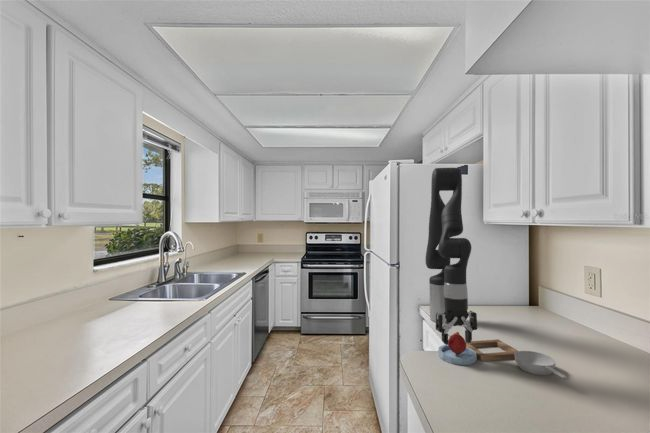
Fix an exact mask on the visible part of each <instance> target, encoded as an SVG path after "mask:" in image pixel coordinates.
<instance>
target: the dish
mask: <svg viewBox="0 0 650 433" xmlns="http://www.w3.org/2000/svg"><path fill="white" fill-rule="evenodd" d="M438 357H439V358H440V359H441V360H442V361H444V362H445V363H448V364H451V365H458V366H471V365H473V364H475V363H476V362H477V359H478V358H477V355H476V352H475V351H474V350H472V349H471V348H468V347H466V349H465V351H464V352H462V353H460V354H459V355H457V354H455V353H454V352H452V351H451V350H450V348H449V346H448V345H446V344H443V345H440V346H439V347H438Z"/></svg>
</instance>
